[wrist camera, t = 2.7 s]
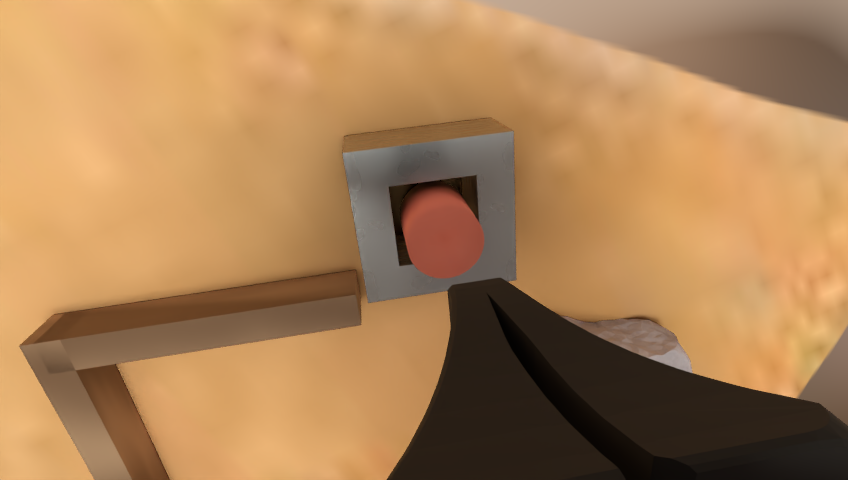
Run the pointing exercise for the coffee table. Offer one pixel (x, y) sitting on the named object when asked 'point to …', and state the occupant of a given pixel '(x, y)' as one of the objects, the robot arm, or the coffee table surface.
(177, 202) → the coffee table surface
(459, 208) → the button
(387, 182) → the silver square button housing
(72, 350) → the pallet pocket
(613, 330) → the stone block
